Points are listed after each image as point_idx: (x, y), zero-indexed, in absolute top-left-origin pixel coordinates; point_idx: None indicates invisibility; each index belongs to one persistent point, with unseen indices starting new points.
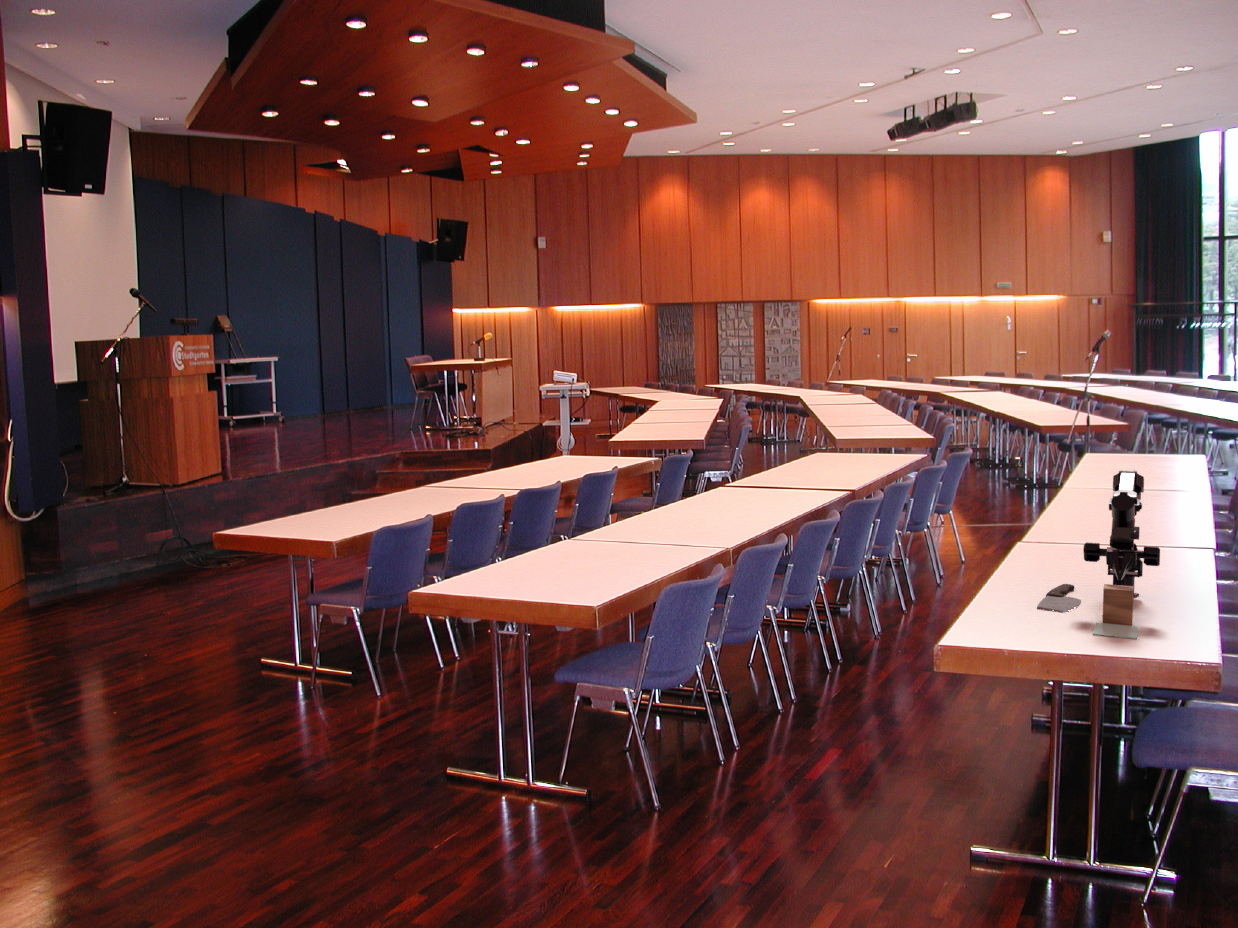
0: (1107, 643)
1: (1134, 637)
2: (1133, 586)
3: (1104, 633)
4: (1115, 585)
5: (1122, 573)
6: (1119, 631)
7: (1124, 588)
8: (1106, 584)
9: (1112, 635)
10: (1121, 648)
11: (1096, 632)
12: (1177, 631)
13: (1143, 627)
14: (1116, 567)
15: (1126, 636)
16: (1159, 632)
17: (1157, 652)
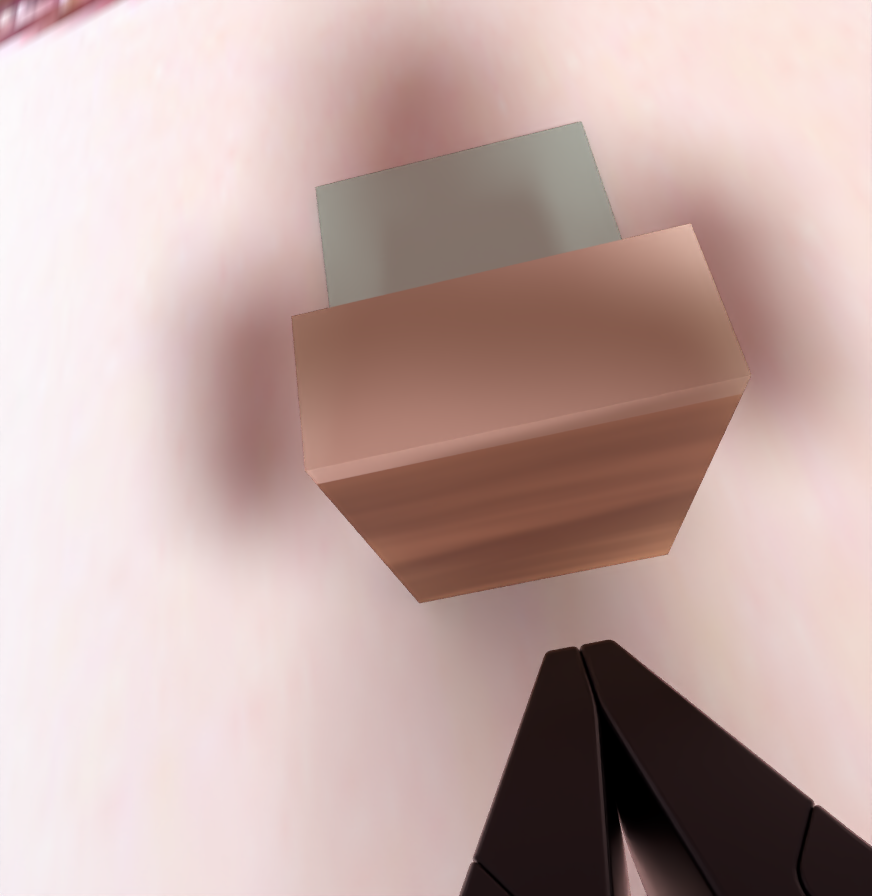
0: (451, 36)
1: (329, 193)
2: (305, 463)
3: (518, 167)
4: (560, 374)
5: (537, 714)
6: (443, 265)
7: (404, 297)
8: (708, 367)
9: (460, 157)
10: (364, 6)
11: (571, 160)
12: (77, 537)
13: (316, 511)
14: (751, 793)
15: (377, 184)
16: (197, 433)
17: (193, 49)
